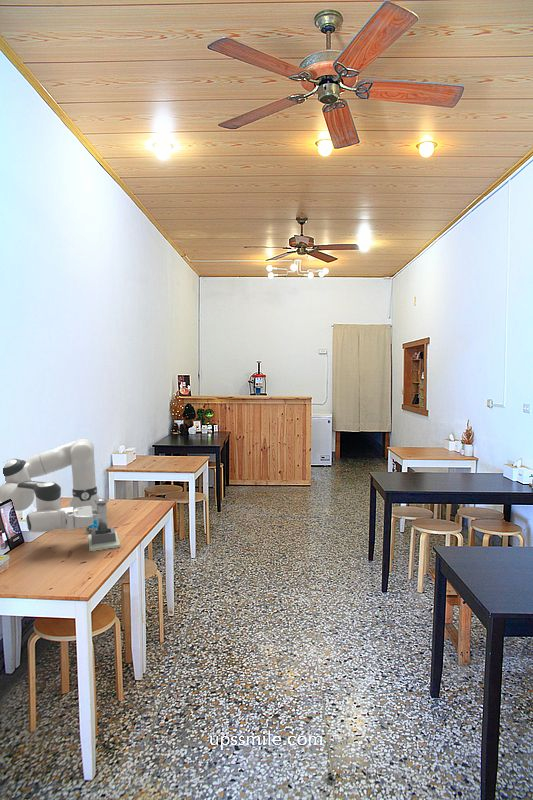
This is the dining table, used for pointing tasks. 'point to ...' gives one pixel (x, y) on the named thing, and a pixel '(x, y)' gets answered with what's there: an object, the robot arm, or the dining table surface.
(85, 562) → the dining table surface
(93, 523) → the gear
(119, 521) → the dining table surface
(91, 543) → the socket board
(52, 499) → the robot arm
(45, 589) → the dining table surface
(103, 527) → the pin
